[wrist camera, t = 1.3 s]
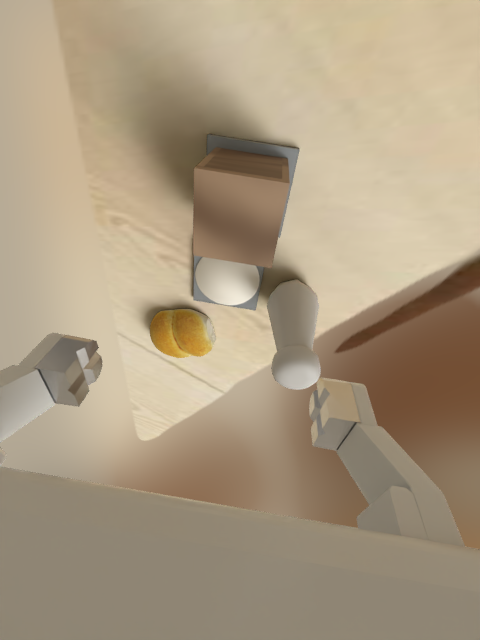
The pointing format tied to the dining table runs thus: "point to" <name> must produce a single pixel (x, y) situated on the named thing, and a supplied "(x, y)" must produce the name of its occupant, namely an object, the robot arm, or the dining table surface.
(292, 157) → the board
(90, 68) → the dining table surface
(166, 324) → the bread roll
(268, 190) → the brown wooden block
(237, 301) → the board
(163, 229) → the dining table surface
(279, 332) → the salt shaker
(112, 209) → the dining table surface
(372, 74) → the dining table surface
